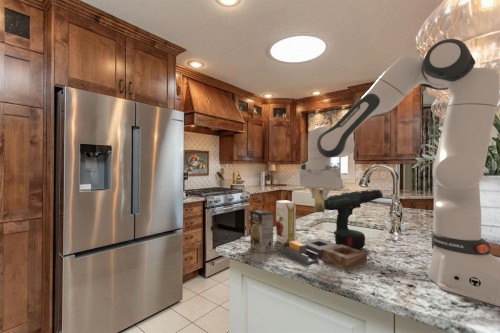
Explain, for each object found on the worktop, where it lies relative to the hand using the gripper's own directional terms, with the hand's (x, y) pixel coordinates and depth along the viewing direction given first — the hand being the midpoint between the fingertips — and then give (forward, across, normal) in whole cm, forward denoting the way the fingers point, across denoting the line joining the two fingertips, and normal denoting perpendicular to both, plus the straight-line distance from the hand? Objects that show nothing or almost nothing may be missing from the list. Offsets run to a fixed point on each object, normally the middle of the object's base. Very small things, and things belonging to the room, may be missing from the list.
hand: (319, 198), depth 101 cm
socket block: (+22, 0, 0) cm, 22 cm away
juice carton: (+22, +17, +4) cm, 28 cm away
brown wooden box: (+22, -13, +1) cm, 25 cm away
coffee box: (+22, +15, +19) cm, 33 cm away
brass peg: (+5, 0, 0) cm, 5 cm away
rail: (+22, -1, +12) cm, 25 cm away
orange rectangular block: (+21, 0, +12) cm, 24 cm away
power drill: (+22, -5, -15) cm, 27 cm away
